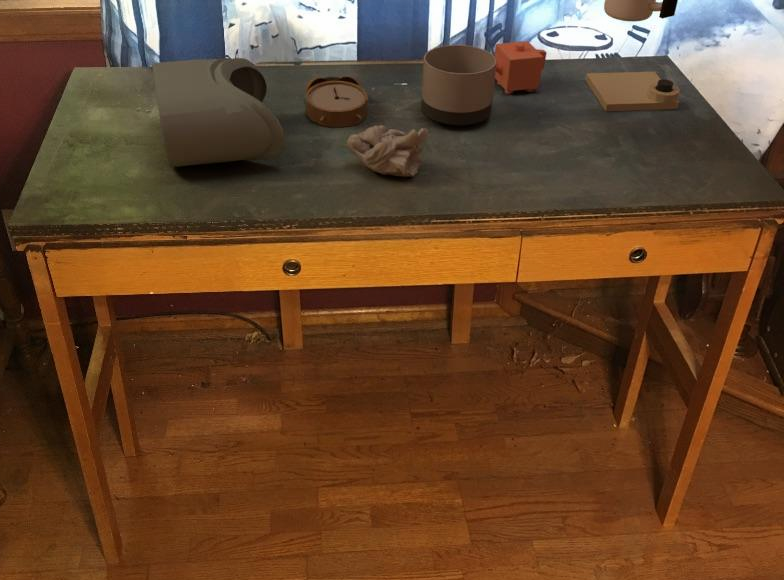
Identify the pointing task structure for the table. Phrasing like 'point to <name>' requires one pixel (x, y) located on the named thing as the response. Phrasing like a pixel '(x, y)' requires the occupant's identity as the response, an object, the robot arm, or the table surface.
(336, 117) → the alarm clock
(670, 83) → the button
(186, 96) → the grey curved shell
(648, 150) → the table surface
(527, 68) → the orange footed box
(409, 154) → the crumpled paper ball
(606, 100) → the scale
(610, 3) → the mug
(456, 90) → the planter
